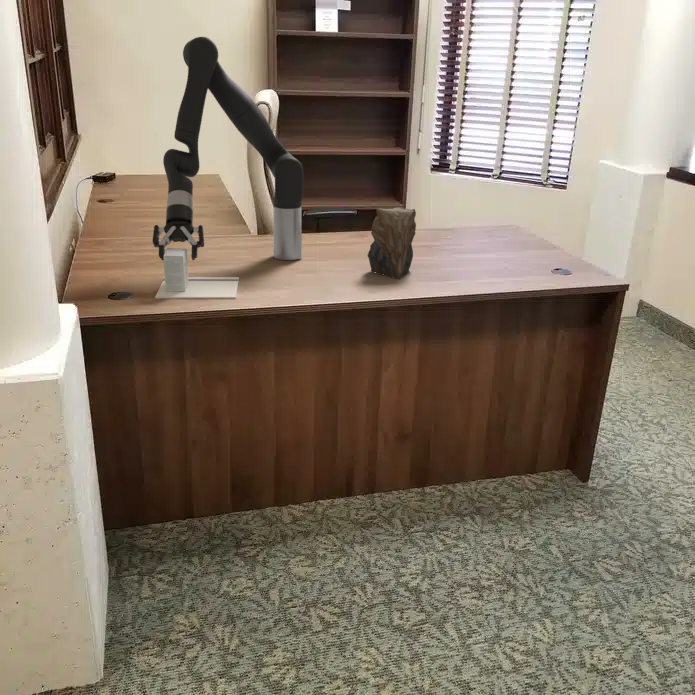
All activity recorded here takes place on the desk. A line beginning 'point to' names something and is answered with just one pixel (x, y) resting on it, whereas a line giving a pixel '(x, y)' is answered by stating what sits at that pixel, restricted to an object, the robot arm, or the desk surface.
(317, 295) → the desk surface
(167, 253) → the small box
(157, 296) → the mat
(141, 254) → the desk surface
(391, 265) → the owl
